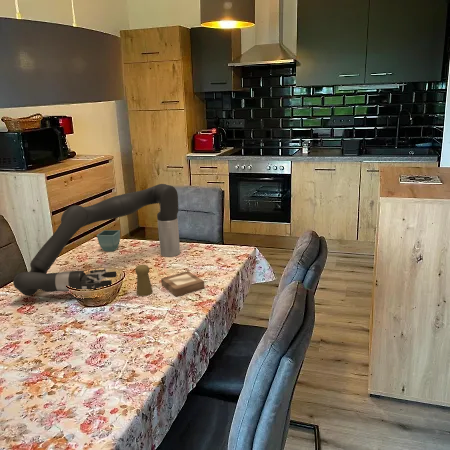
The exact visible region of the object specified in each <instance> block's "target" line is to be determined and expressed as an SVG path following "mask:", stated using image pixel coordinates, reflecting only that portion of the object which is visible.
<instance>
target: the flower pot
mask: <svg viewBox="0 0 450 450" xmlns="http://www.w3.org/2000/svg"><path fill="white" fill-rule="evenodd" d="M96 239H97V242H98V245H99V247H100V248H101V250H102V251H104V252H114V251H115V250H116V249H118V248H119V246H120V242H121V230H120V229H114V230H113V229H109V230H108V229H105V230H104V229H103V230H102V231H101V232H98V234H96Z"/></svg>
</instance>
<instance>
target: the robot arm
mask: <svg viewBox="0 0 450 450" xmlns="http://www.w3.org/2000/svg"><path fill="white" fill-rule="evenodd" d="M155 204H159V205H160V206H159V207H160V209H159V212H158V213H156V214H157V215H156V216H157V229H158V238H159V239H158V240H159V250H160V251H159V252H160V255H161V256H162V257H168V258H170V257H175V256H178V255H180V253H181V248H180V247H181V246H180V235H179V234H180V233H179V222H178V214H179V194H178V189H176V187H175V186H173V185H169V184H167V183H159V184H157V185H153V186H151V187H148V188H145V189H143V190H138V191H132V192H128V193H122V194H119V195H114V196H112V197H109V198H106V199H103V200H102V201H100V202H96V203H95V204H91V205H87V206H82V205H78V204H77V205H76V204H74V205H72V206H69V207H68V208H67V209H66V210H64V211H63V212H62V215H61V219H60V224H59V226H58V227H57V229H55V231H54V233H53V234H52V235H51V237H49V239H48V240H47V241H46V242H45V243H44V244H43V246H42V247H40V249H39V250H38V251H37V253H36V254H35V255H34V257H33V259H32V260H31V261H30V264H29V266H30V271H23V272H20V273H18V274H17V275H15V276H14V277H13V279H12V280H13V281H12V284H13V286H14V288H15V289H16V290H17V291H18V292H20V293H21V294H22V295H24V296H26V297H28V296H32V295H34V294H36V293H37V292H38V291H39V290H40V291H43V292H45V293H53V292H54V293H55V292H62V293H63V292H64V293H65V292H70V291H69V290H68V288H67V287H66V285H67V286H70V287H72V288H76V289H96V288H98V289H101V288H105V287H104V286H108V285H111V284H112V285H113V281H112V280H111V279H109V278H117V275H118V274H117V271H115V270H114V271H113V270H112V271H107V269H92V270H89V271H90V272H89V273H87V274H86V273H85V271H84V270H72V271H71V270H70V271H69V270H68V271H60V272H59V271H58V272H50V273H49V272H48V271H49V270H50V269H51V267H52V266H53V265H54V263H55V261H56V260H57V258H58V257H59V256H60V254H61V253H62V251H63V250H64V248H65V247H66V245H67V244H68V242H69V241H70V240H71V239H72V237H73V236H75V234H76V233H77V232H78V231H79V230H80V229H81V228H84V227H86V226H90V225H92V224H94V223H98V222H103V221H108V220H113V219H118V218H121V217H124V216H125V217H126V216H130V215H131V214H134V213H136V212H137V211H139V210H140V209H142V208H144V207H147V206H150V205H155ZM47 272H48V273H47ZM107 278H108V280H107ZM104 279H106V280H104Z"/></svg>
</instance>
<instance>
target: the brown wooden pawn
mask: <svg viewBox="0 0 450 450" xmlns="http://www.w3.org/2000/svg"><path fill="white" fill-rule="evenodd" d="M134 271H135V274H136V295H137V296H139V297H147V296H150V295H152V294H153V293H154V292H153V288H152V283H151V280H150V275H149V273H150V267H149V265H147V264H138V265H137V266H136V267H135V269H134Z"/></svg>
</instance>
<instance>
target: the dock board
mask: <svg viewBox="0 0 450 450" xmlns="http://www.w3.org/2000/svg"><path fill="white" fill-rule="evenodd" d="M160 281H161V287H163V288H164V289H166V290H167V291H168V292H169V293H171V294H172V295H173V296H175V297H176V298H178V297H181V296H185V295H187V294H190V293H194V292H198V291H201V290H204V289H205V281H204V280H203V279H202V278H200V277H198V276H197V275H195V274H194V273H192V272H190V271H189V270H188V271H185V272H179V273H176V274H173V275H170V276H169V275H168V276H165V277H163V278H161V280H160Z"/></svg>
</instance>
